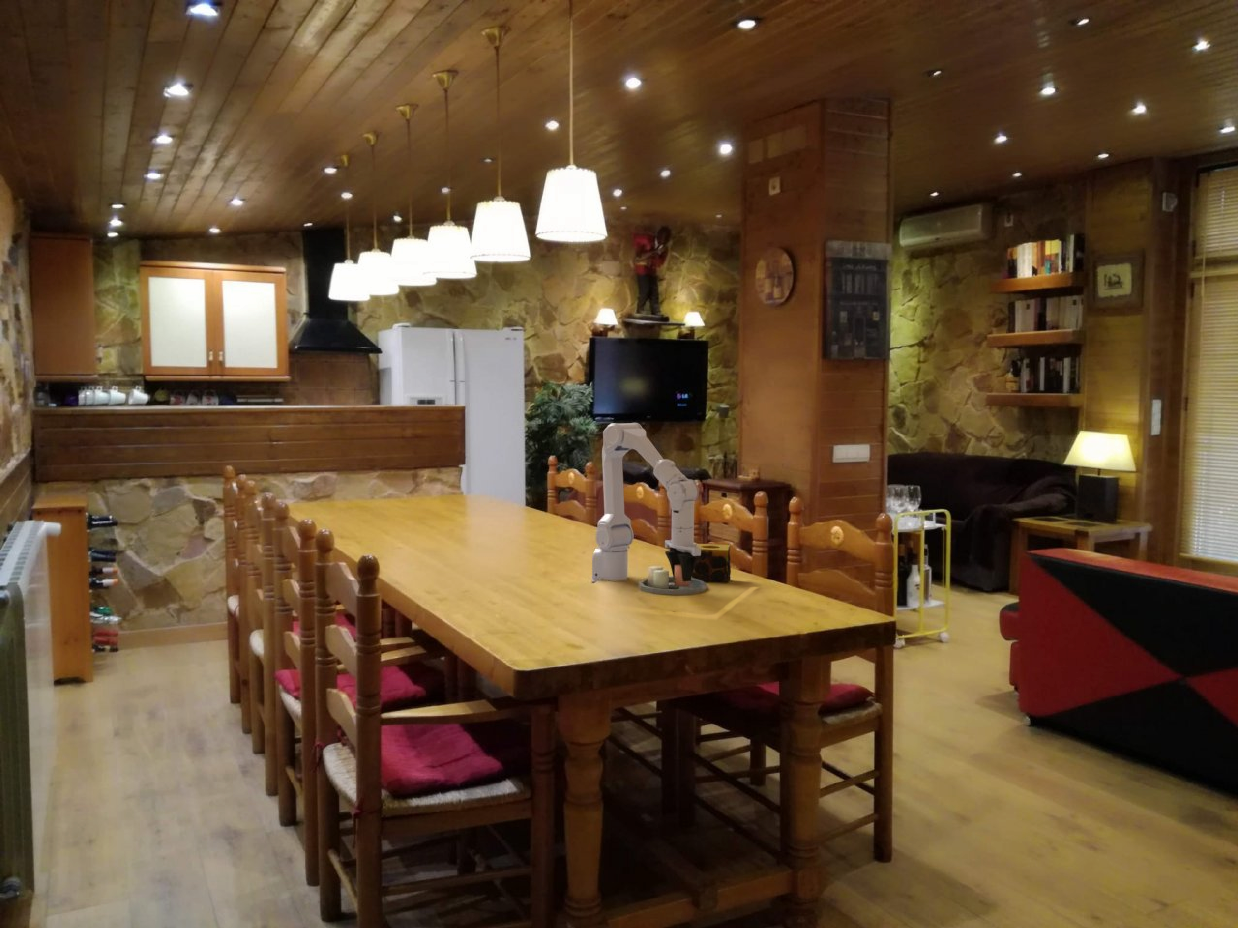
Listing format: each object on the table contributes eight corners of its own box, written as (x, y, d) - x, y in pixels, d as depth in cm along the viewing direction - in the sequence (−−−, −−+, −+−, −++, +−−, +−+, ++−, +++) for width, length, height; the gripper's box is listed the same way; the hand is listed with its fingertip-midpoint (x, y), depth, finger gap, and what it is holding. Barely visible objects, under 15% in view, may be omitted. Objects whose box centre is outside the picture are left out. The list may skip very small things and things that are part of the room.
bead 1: (646, 584, 253) (646, 566, 253) (661, 584, 254) (661, 565, 254) (649, 587, 249) (649, 569, 249) (664, 587, 250) (664, 568, 250)
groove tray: (629, 594, 245) (629, 586, 245) (652, 582, 262) (652, 574, 261) (694, 601, 239) (694, 592, 239) (713, 587, 255) (713, 579, 255)
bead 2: (685, 586, 243) (685, 567, 243) (671, 585, 245) (672, 566, 245) (692, 584, 246) (692, 565, 246) (678, 582, 249) (679, 563, 248)
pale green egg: (651, 591, 245) (651, 572, 245) (656, 588, 249) (656, 569, 249) (665, 592, 244) (666, 573, 244) (670, 589, 248) (671, 570, 247)
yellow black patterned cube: (728, 587, 257) (728, 550, 256) (691, 585, 259) (691, 549, 258) (731, 579, 267) (732, 544, 266) (695, 578, 269) (696, 543, 268)
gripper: (711, 529, 240) (710, 582, 241) (681, 522, 253) (680, 572, 254) (687, 531, 237) (687, 585, 238) (658, 524, 250) (657, 575, 251)
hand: (682, 579), depth 246 cm, fingers closed on bead 2, 4 cm apart
